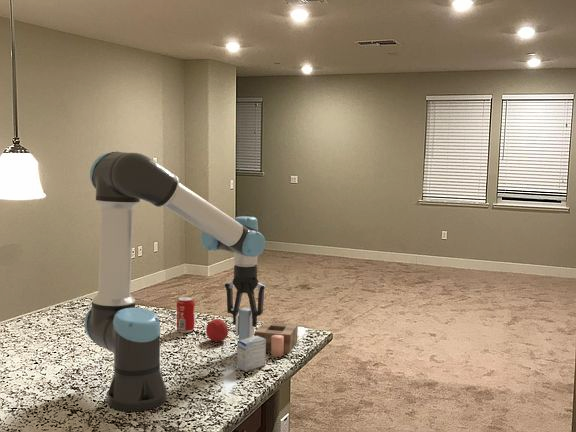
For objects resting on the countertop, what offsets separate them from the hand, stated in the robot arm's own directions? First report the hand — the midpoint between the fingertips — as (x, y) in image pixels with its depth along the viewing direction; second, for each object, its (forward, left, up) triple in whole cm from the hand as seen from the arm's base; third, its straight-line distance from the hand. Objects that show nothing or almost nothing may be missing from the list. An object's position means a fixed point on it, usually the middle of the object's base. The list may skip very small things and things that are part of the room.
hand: (244, 334), depth 204 cm
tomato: (+8, +12, -6) cm, 16 cm away
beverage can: (+16, +27, -6) cm, 32 cm away
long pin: (0, 0, -6) cm, 6 cm away
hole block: (+9, -9, -6) cm, 14 cm away
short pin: (0, -11, -6) cm, 12 cm away
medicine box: (-13, -6, -6) cm, 15 cm away
